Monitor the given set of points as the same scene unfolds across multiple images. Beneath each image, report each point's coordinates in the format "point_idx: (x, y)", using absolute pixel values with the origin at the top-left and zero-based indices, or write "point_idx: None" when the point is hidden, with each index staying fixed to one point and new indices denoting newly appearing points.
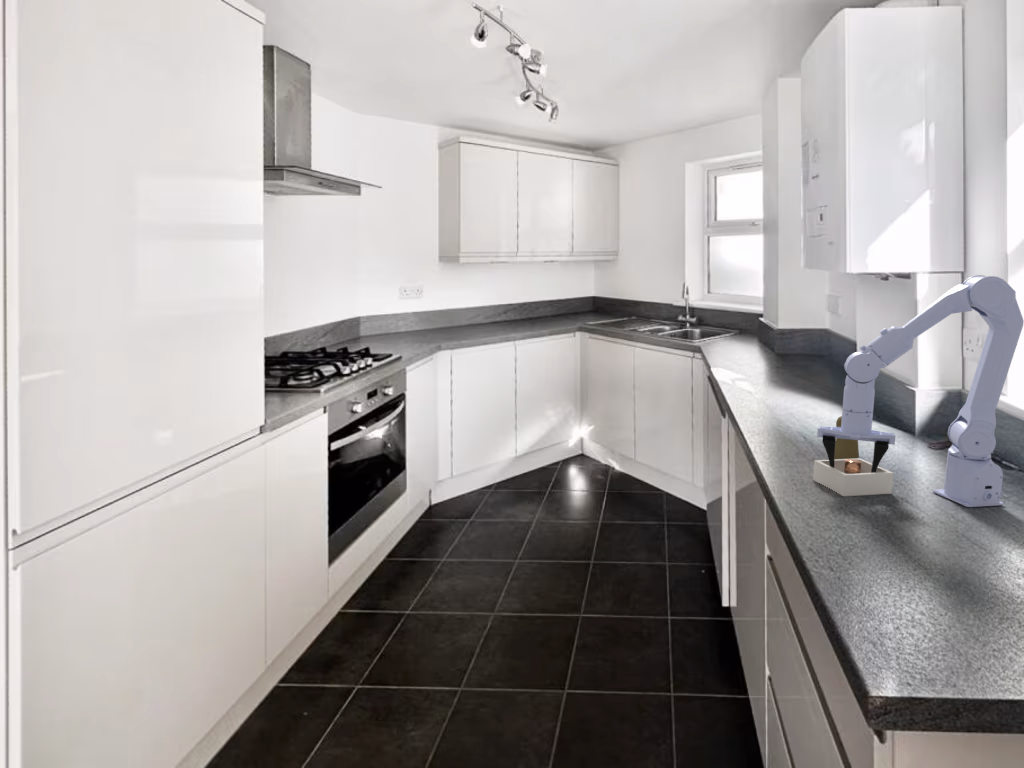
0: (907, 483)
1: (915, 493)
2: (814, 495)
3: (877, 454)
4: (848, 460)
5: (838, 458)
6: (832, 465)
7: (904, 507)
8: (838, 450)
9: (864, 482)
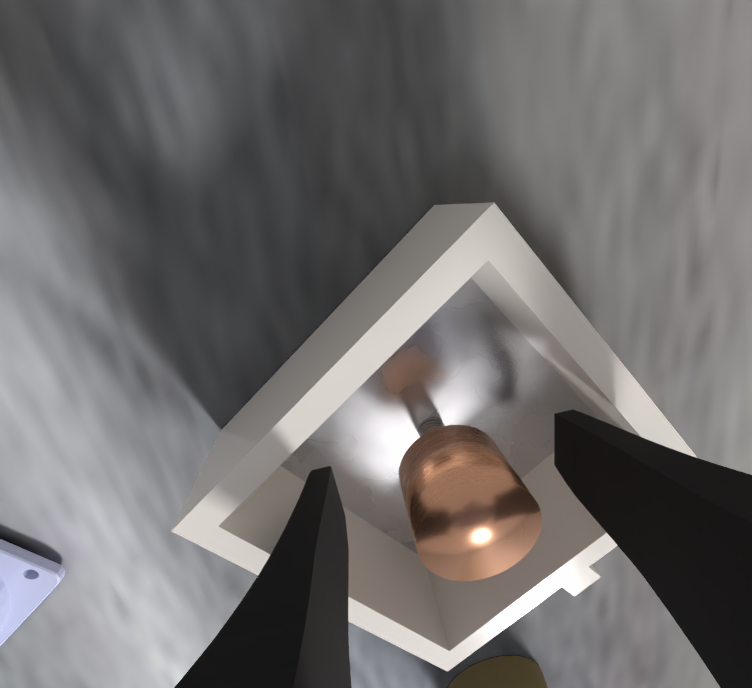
0: (216, 610)
1: (128, 506)
2: (594, 106)
3: (264, 644)
4: (515, 535)
5: (527, 685)
6: (600, 431)
7: (55, 212)
8: None
9: (340, 332)
